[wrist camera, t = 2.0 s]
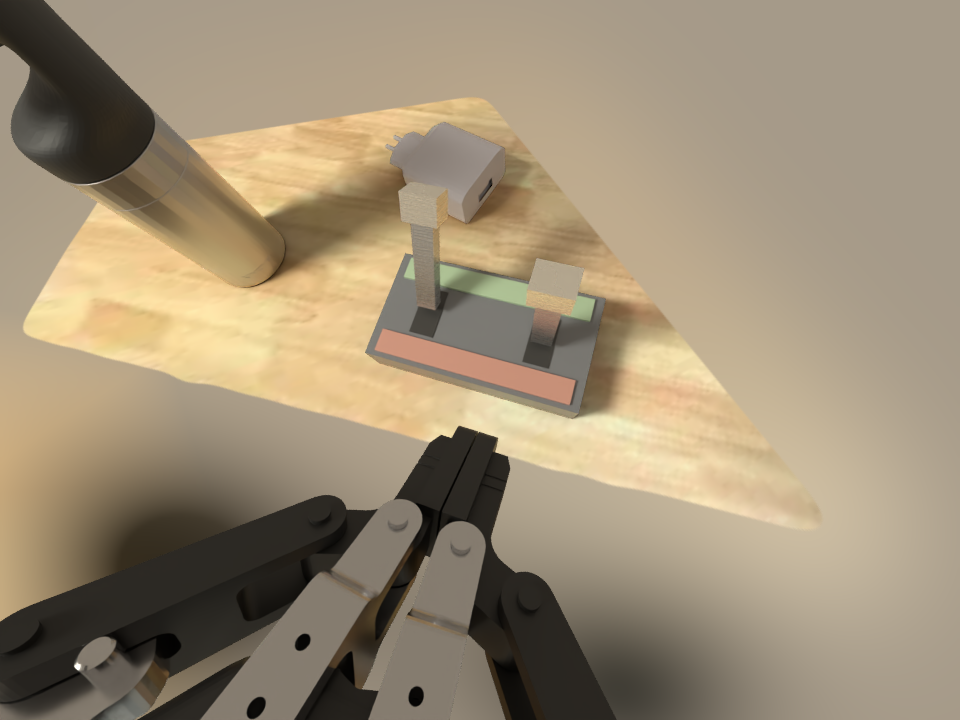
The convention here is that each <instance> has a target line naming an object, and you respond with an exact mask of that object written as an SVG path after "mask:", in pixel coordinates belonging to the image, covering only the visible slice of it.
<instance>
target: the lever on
mask: <svg viewBox="0 0 960 720" xmlns="http://www.w3.org/2000/svg"><path fill="white" fill-rule="evenodd" d="M398 193H399V203H400V214H401V221H402V222H407V223H411V234H412V247H413V260H414V273H415V286H416V299H417V306H420V307H424V308H428V309H432V310H436V309H437V307H438V306H439V304H440V303H441V298H440V241H439V226H440V225H441V224H442V223H443V222H444V221H445V220H446V219H447V218H448V188H443V187H438V186H433V185H427V184H422V183H417V182H410V183H409V184H408V185H406V186H405V187H403V188H402V189H401V190H399V191H398Z"/></svg>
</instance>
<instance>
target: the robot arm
mask: <svg viewBox="0 0 960 720" xmlns="http://www.w3.org/2000/svg"><path fill="white" fill-rule="evenodd" d="M3 45H5V46H7V47H8V48H10V49H11V50H12V51H14V52H15V53H16V54H17V55H19V57H21V58H22V59H23V60H24V61H25V62H26V63H27V64H28V65H29V66H30V74H29V79H28V82H27V84H26V87H25V89H24V91H23V93H22V94H21V97H20V98H19V100H18V102H17V105H16V106H15V109H14V111H13V115H12V120H11V134H12V138H13V140H14V143H15V144H16V146H17V147H18V149H19V150H20V151H21V152H22V153H23V154H24V155H26V157H28V158H29V159H30V160H32V161H33V162H34V163H36V164H37V165H39V166H41V167H42V168H44V169H45V170H47V171H49V172H50V173H52V174H53V175H55V176H57V177H58V178H60V179H62V180H63V181H65V182H66V183H68V184H70V185H71V186H73V187H74V188H76V189H78V190H79V191H81V192H82V193H84V194H86V195H87V196H89V197H90V198H92V199H94V200H95V201H97V202H98V203H100V204H102V205H104V206H105V207H107V208H108V209H110V210H112V211H113V212H115V213H116V214H118V215H120V216H121V217H123V218H124V219H126V220H128V221H129V222H131V223H132V224H134V225H136V226H137V227H139V228H140V229H142V230H144V231H145V232H147V233H148V234H150V235H152V236H153V237H155V238H156V239H158V240H160V241H161V242H163V243H164V244H166V245H168V246H169V247H171V248H172V249H174V250H176V251H177V252H179V253H180V254H182V255H184V256H185V257H187V258H188V259H190V260H192V261H193V262H195V263H196V264H198V265H200V266H201V267H202V268H204V269H206V270H207V271H209V272H210V273H212V274H214V275H215V276H217V277H219V278H220V279H222V280H223V281H225V282H227V283H228V284H230V285H233V286H236V287H250V286H254V285H257V284H259V283H262V282H263V281H265V280H266V279H268V278H269V277H270V276H272V275H273V274H274V273H275V272H276V270H277V269H278V268H279V266H280V264H281V262H282V260H283V258H284V254H285V244H284V240H283V238H282V236H281V235H280V233H279V232H278V231H277V230H276V229H275V228H274V227H273V226H272V225H271V224H270V223H269V222H268V221H267V220H265V219H264V218H263V217H262V216H261V215H260V214H259V213H258V212H257V211H256V210H255V209H254V208H253V207H252V206H251V205H250V204H249V203H248V202H247V201H246V200H245V199H244V198H243V197H242V196H241V195H240V194H239V193H238V192H237V191H236V190H235V189H234V188H233V187H232V186H231V185H230V184H229V183H228V182H227V181H226V180H225V179H224V178H223V177H222V176H220V175H219V174H218V173H217V172H216V171H215V170H214V169H213V168H212V167H211V166H210V165H209V164H208V163H207V162H206V161H205V160H204V159H203V158H202V157H201V156H200V155H199V154H198V153H197V152H196V151H195V150H194V149H193V148H192V147H191V146H190V145H189V144H188V143H187V142H186V141H185V140H184V139H182V138H181V137H180V136H179V135H178V134H177V133H176V132H175V131H174V130H173V129H172V128H171V127H170V126H169V125H168V124H167V123H166V122H165V121H164V120H163V119H162V118H161V117H159V115H158V114H157V113H156V112H155V111H153V110H152V109H151V108H150V107H149V106H148V105H147V104H146V103H145V102H144V101H143V100H142V99H141V98H140V97H139V96H138V95H137V94H136V93H135V92H134V91H133V90H132V89H131V88H130V87H129V86H128V85H127V84H126V83H125V82H124V81H123V80H122V79H121V78H120V77H119V76H118V75H117V74H116V73H115V72H114V71H113V70H112V69H111V68H110V67H109V66H108V65H107V64H106V63H105V62H104V61H103V60H102V59H101V58H100V57H99V56H98V55H97V54H96V53H95V52H94V51H93V50H92V49H91V48H90V47H89V46H88V45H87V44H86V43H85V42H84V41H83V40H82V39H81V38H80V37H79V36H78V35H77V34H76V33H75V32H74V31H73V30H72V29H71V28H70V27H69V26H68V25H67V24H66V23H65V22H64V21H63V20H62V19H61V18H60V17H59V16H58V15H57V14H56V13H55V11H54V10H53V9H52V8H51V7H50V6H49V5H48V4H47V3H46V2H45V1H44V0H0V47H1V46H3ZM497 442H498V438H497V437H494V436H490V435H487V434H484V433H481V432H479V433H478V431H474V430H471V429H468V428H465V427H462V426H458V428H457V429H456V431H455V433H454V435H453V437H452V438H449V437H446V436H443V435H440V436H439V437H438V438H436V439H435V440H433V441H432V442H430V444H429V445H428V447H427V448H426V450H425V452H424V454H423V455H422V456H421V458H420V460H419V461H418V464H417V465H416V466H415V468H414V469H413V471H412V472H411V474H410V475H409V477H408V479H407V480H406V482H405V483H404V485H403V487H402V488H401V490H400V491H399V493H398V495H397V496H396V497H395V499H394V500H391V501H389V502H387V503H385V504H383V505H382V506H381V507H380V508H379V509H376V510H367V511H365V510H346V507H345V504H344V503H343V502H342V500H341V499H339V498H337V497H335V496H331V495H322V496H318V497H314V498H311V499H309V500H306V501H304V502H301V503H298V504H296V505H293V506H291V507H288V508H285V509H283V510H280V511H277V512H275V513H272V514H269V515H267V516H264V517H262V518H259V519H256V520H254V521H251V522H249V523H246V524H243V525H240V526H238V527H235V528H233V529H230V530H227V531H225V532H222V533H219V534H217V535H214V536H212V537H209V538H206V539H204V540H201V541H198V542H196V543H193V544H191V545H188V546H185V547H183V548H180V549H178V550H175V551H172V552H169V553H167V554H164V555H162V556H159V557H157V558H154V559H151V560H148V561H146V562H143V563H141V564H138V565H135V566H133V567H130V568H128V569H125V570H122V571H120V572H117V573H115V574H112V575H109V576H106V577H104V578H101V579H99V580H96V581H93V582H91V583H88V584H85V585H83V586H80V587H78V588H75V589H72V590H70V591H67V592H65V593H62V594H59V595H57V596H54V597H51V598H49V599H46V600H43V601H41V602H38V603H36V604H33V605H30V606H28V607H26V608H24V609H21V610H19V611H17V612H16V613H13V614H12V615H10V616H8V617H7V618H5V619H4V620H2V621H1V622H0V720H135V719H136V718H137V717H139V716H142V715H143V714H145V713H146V712H147V711H148V710H149V709H150V708H151V707H152V706H153V704H154V703H155V701H156V699H157V697H158V696H159V694H160V693H161V691H162V690H163V688H164V686H165V684H166V682H167V679H168V678H170V677H171V676H173V675H175V674H177V673H179V672H181V671H183V670H185V669H187V668H188V667H190V666H192V665H194V664H196V663H198V662H199V661H201V660H203V659H205V658H207V657H209V656H211V655H213V654H214V653H217V652H218V651H220V650H222V649H224V648H226V647H228V646H230V645H232V644H233V643H235V642H237V641H239V640H241V639H243V638H245V637H247V636H248V635H250V634H252V633H254V632H256V631H258V630H259V629H261V628H263V627H265V626H267V625H269V624H271V623H273V622H274V621H276V620H278V619H280V618H281V619H280V620H279V622H278V623H277V624H276V625H275V627H274V628H273V629H272V630H271V632H270V633H269V634H268V635H267V637H266V638H265V639H264V640H263V642H262V643H261V644H260V645H259V647H258V648H257V649H256V650H255V652H254V653H253V654H252V655H251V656H249V657H246V658H243V659H241V660H239V661H237V662H235V663H233V664H231V665H229V666H227V667H226V668H224V669H222V670H220V671H219V672H217V673H215V674H214V675H212V676H210V677H209V678H207V679H205V680H203V681H202V682H200V683H198V684H197V685H195V686H193V687H192V688H190V689H188V690H187V691H185V692H183V693H182V694H180V695H178V696H177V697H175V698H173V699H172V700H170V701H168V702H166V703H165V704H163V705H162V706H160V707H158V708H156V709H155V710H153V711H151V712H150V713H148V714H146V715H145V716H143V717H141V718H140V719H138V720H450V715H451V711H452V706H453V701H454V697H455V692H456V687H457V682H458V677H459V673H460V669H461V664H462V659H463V654H464V650H465V645H466V640H467V635H469V636H471V637H472V638H473V639H474V640H475V641H476V642H477V643H478V644H479V645H480V646H481V647H482V648H483V649H484V650H485V655H486V659H487V662H488V665H489V668H490V672H491V675H492V678H493V681H494V684H495V687H496V690H497V693H498V696H499V700H500V703H501V706H502V709H503V713H504V716H505V719H506V720H616V718H615V716H614V714H613V712H612V710H611V708H610V706H609V704H608V702H607V700H606V698H605V696H604V694H603V692H602V690H601V688H600V686H599V684H598V682H597V680H596V678H595V676H594V674H593V672H592V670H591V668H590V666H589V664H588V662H587V660H586V658H585V656H584V654H583V652H582V650H581V648H580V646H579V644H578V642H577V640H576V638H575V636H574V634H573V632H572V630H571V628H570V626H569V625H568V622H567V620H566V618H565V617H564V614H563V612H562V610H561V608H560V606H559V604H558V603H557V600H556V598H555V596H554V594H553V593H552V591H551V589H550V587H549V586H548V585H547V583H546V582H545V581H544V580H543V579H541V578H540V577H539V576H537V575H535V574H533V573H529V572H518V573H515V572H514V571H512V570H511V569H510V568H509V567H508V566H507V565H505V564H504V563H503V562H502V561H501V560H500V559H499V558H498V557H497V555H496V553H495V552H494V549H493V547H492V543H491V535H492V531H493V528H494V525H495V521H496V518H497V515H498V511H499V508H500V504H501V501H502V498H503V494H504V490H505V487H506V483H507V479H508V475H509V471H510V465H509V461H508V456H505V455H501V454H498V453H495V451H496V447H497ZM425 555H426V556H428V557H430V559H429V562H428V565H427V568H426V570H425V573H424V576H423V579H422V582H421V585H420V587H419V590H418V593H417V596H416V599H415V602H414V604H413V607H412V609H411V611H410V612H409V613H408V614H407V616H406V618H405V621H404V623H403V626H402V628H401V631H400V634H399V637H398V639H397V642H396V645H395V648H394V650H393V653H392V656H391V659H390V661H389V664H388V667H387V670H386V673H385V675H384V678H383V681H382V683H381V686H380V689H379V691H373V690H362V688H363V686H364V684H365V682H366V680H367V678H368V676H369V674H370V672H371V669H372V667H373V665H374V662H375V659H376V656H377V653H378V650H379V648H380V645H381V643H382V641H383V639H384V637H385V635H386V634H387V632H388V630H389V628H390V626H391V624H392V622H393V621H394V619H395V617H396V615H397V613H398V611H399V609H400V608H401V606H402V604H403V602H404V600H405V598H406V596H407V595H408V593H409V591H410V589H411V587H412V585H413V583H414V582H415V579H416V576H417V572H418V570H419V568H420V566H421V564H422V561H423V559H424V557H425Z"/></svg>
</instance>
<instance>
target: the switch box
mask: <svg viewBox="0 0 960 720" xmlns="http://www.w3.org/2000/svg"><path fill="white" fill-rule="evenodd" d="M528 285H529V281H525V280H521V279H517V278H512V277H508V276H503V275H499V274H494V273H490V272H486V271H481V270H477V269H472V268H468V267H464V266H459V265H455V264H450V263H446V262H442V261H440V298H441V303H440V304H439V306H438V307H437V309H436V310H432V309H428V308H424V307H420V306H417V299H416V286H415V273H414V260H413V255H411V254H406V253H405V256H404V258H403V261H402V263H401V265H400V268H399V270H398V273H397V275H396V278H395V280H394V283H393V285H392V288H391V290H390V292H389V295H388V297H387V300H386V302H385V305H384V307H383V310H382V312H381V315H380V317H379V319H378V322H377V324H376V327H375V329H374V332H373V334H372V337H371V339H370V342H369V344H368V346H367V349H366V351H365V353H366V354H367V355H369V356H370V357H372V358H373V359H374V360H376V361H377V362H378V363H380V364H384V365H387V366H391V367H394V368H398V369H401V370H405V371H408V372H412V373H415V374H418V375H422V376H425V377H429V378H432V379H436V380H439V381H443V382H446V383H450V384H453V385H457V386H460V387H463V388H467V389H470V390H474V391H477V392H481V393H484V394H488V395H491V396H495V397H498V398H502V399H505V400H508V401H512V402H515V403H519V404H522V405H526V406H529V407H533V408H536V409H540V410H543V411H546V412H550V413H553V414H557V415H560V416H564V417H567V418H571V419H572V418H574V417H575V416H576V415H578V414H579V410H580V406H581V402H582V398H583V393H584V389H585V385H586V381H587V376H588V372H589V368H590V364H591V360H592V355H593V351H594V347H595V343H596V338H597V334H598V330H599V326H600V321H601V317H602V313H603V309H604V305H605V300H606V299H605V298H600V297H596V296H592V295H587V294H583V293H578V295H577V299H576V302H575V305H574V307H573V310H572V313H571V315H570V316H569V315H565V314H561V317H560V320H559V323H558V327H557V330H556V333H555V336H554V339H553V342H552V346H547V345H543V344H539V343H535V342H531V335H532V327H533V320H534V312H535V307H531V306H527V305H526V298H527V288H528Z"/></svg>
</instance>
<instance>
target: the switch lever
mask: <svg viewBox="0 0 960 720" xmlns="http://www.w3.org/2000/svg"><path fill="white" fill-rule="evenodd" d="M583 272H584V268H581V267H576V266H571V265H567V264H562V263H557V262H553V261H548V260H543V259H539V258H536V261H535V265H534V268H533V271H532V275H531V278H530V281H529V285H528V288H527V298H526V305H527V306H531V307H535V312H534V320H533V327H532V335H531V342H535V343H539V344H543V345H547V346H552V342H553V339H554V336H555V333H556V330H557V327H558V323H559V320H560V317H561V314H565V315H569V316H570V315H571V313H572V310H573V307H574V305H575V302H576V299H577V295H578V291H579V287H580V283H581V279H582V276H583Z"/></svg>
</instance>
